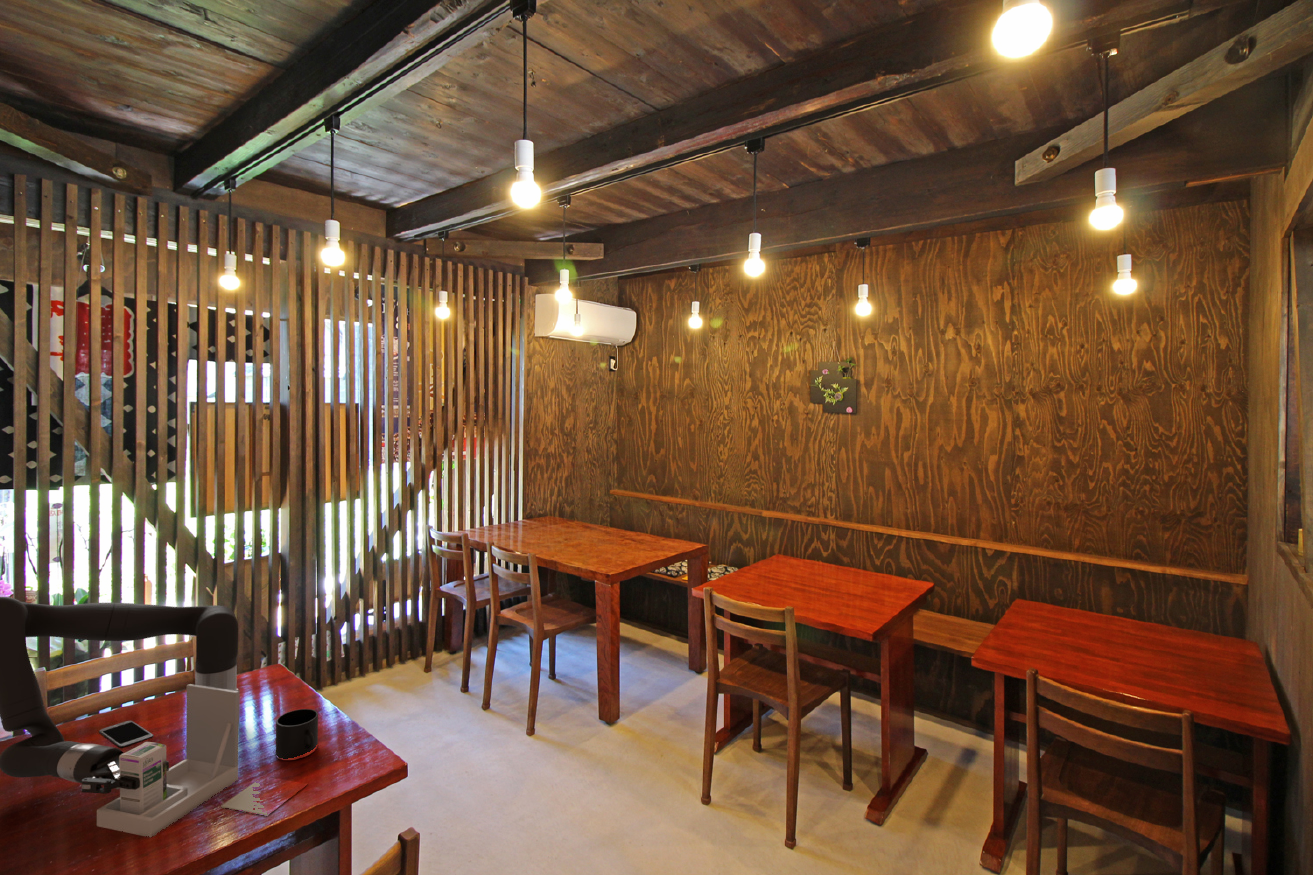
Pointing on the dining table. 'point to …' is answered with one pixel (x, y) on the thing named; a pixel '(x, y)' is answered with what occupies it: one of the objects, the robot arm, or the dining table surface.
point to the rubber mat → (246, 801)
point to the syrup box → (144, 777)
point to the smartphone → (125, 734)
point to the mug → (296, 733)
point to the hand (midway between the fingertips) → (152, 775)
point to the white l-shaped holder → (190, 764)
